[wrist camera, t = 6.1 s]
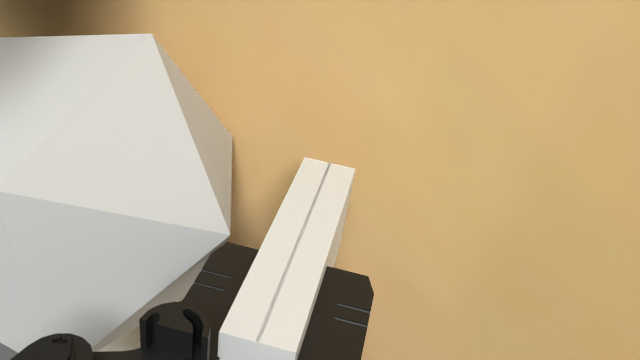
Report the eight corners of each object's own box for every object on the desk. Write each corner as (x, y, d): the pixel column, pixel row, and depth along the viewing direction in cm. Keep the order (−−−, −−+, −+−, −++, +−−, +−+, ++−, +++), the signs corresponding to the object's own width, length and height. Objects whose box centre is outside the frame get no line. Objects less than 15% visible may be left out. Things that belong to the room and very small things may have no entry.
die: (7, 126, 21) (-41, 410, 17) (-149, -74, 13) (-311, 359, 9) (235, 116, 22) (245, 384, 17) (213, -76, 14) (221, 317, 10)
